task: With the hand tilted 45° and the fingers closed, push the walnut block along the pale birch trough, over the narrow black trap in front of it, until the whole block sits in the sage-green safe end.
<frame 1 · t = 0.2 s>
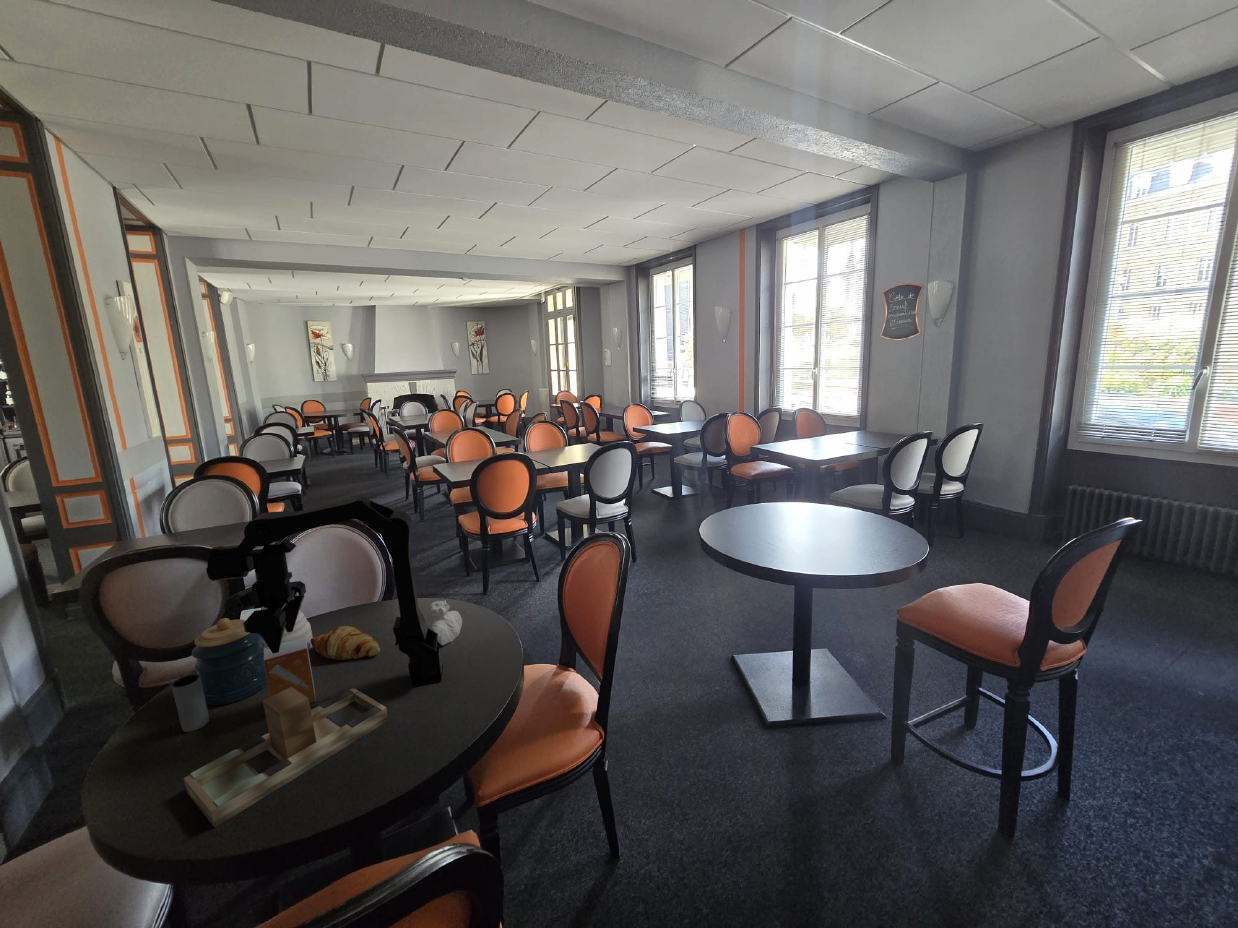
hand: (283, 641, 113), 15 cm above the table, tool pointing down, fingers open, 9 cm apart
white lumpy piece: (446, 638, 141), on the table
honey pot: (285, 650, 138), on the table
planter: (196, 725, 110), on the table
small box: (295, 702, 116), on the table
croissant: (345, 653, 136), on the table
canister: (237, 689, 122), on the table
walnut block: (290, 723, 98), point 6 cm above the table, slide at 0.0 cm
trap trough: (296, 753, 100), on the table
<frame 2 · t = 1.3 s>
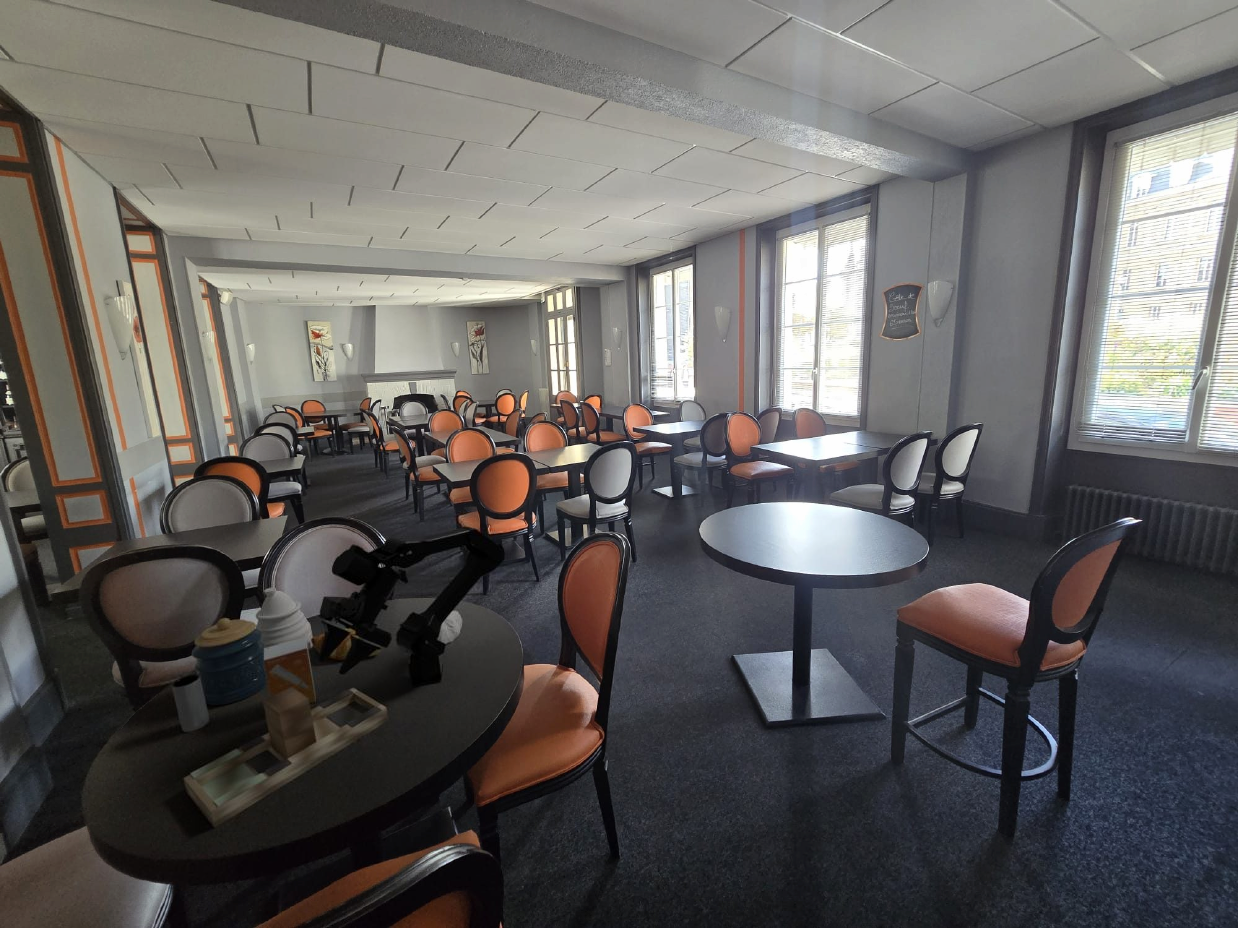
hand: (330, 667, 104), 13 cm above the table, tool tilted 45°, fingers open, 8 cm apart
nothing on the table moved.
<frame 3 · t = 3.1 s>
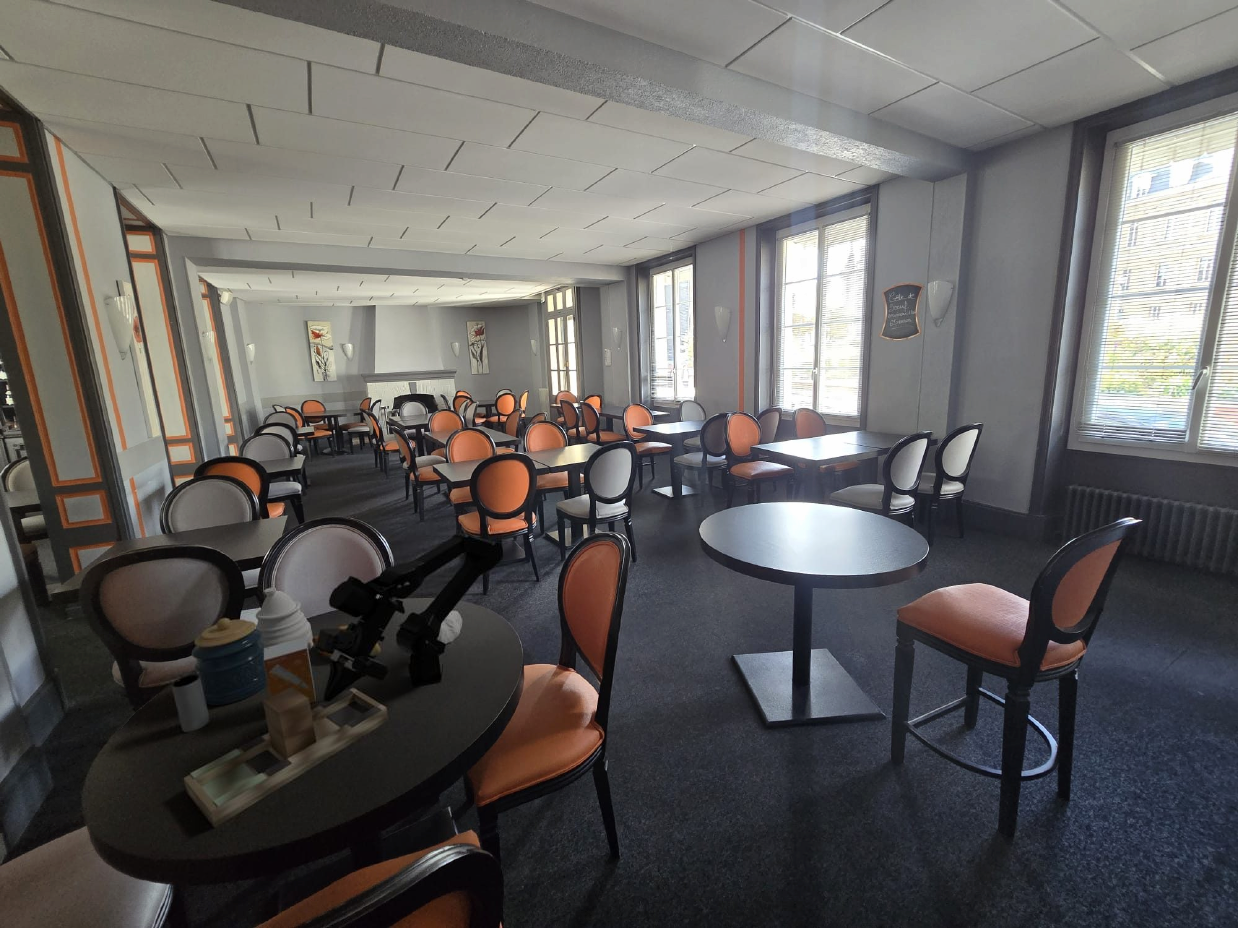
hand: (325, 700, 104), 7 cm above the table, tool tilted 45°, fingers closed
nothing on the table moved.
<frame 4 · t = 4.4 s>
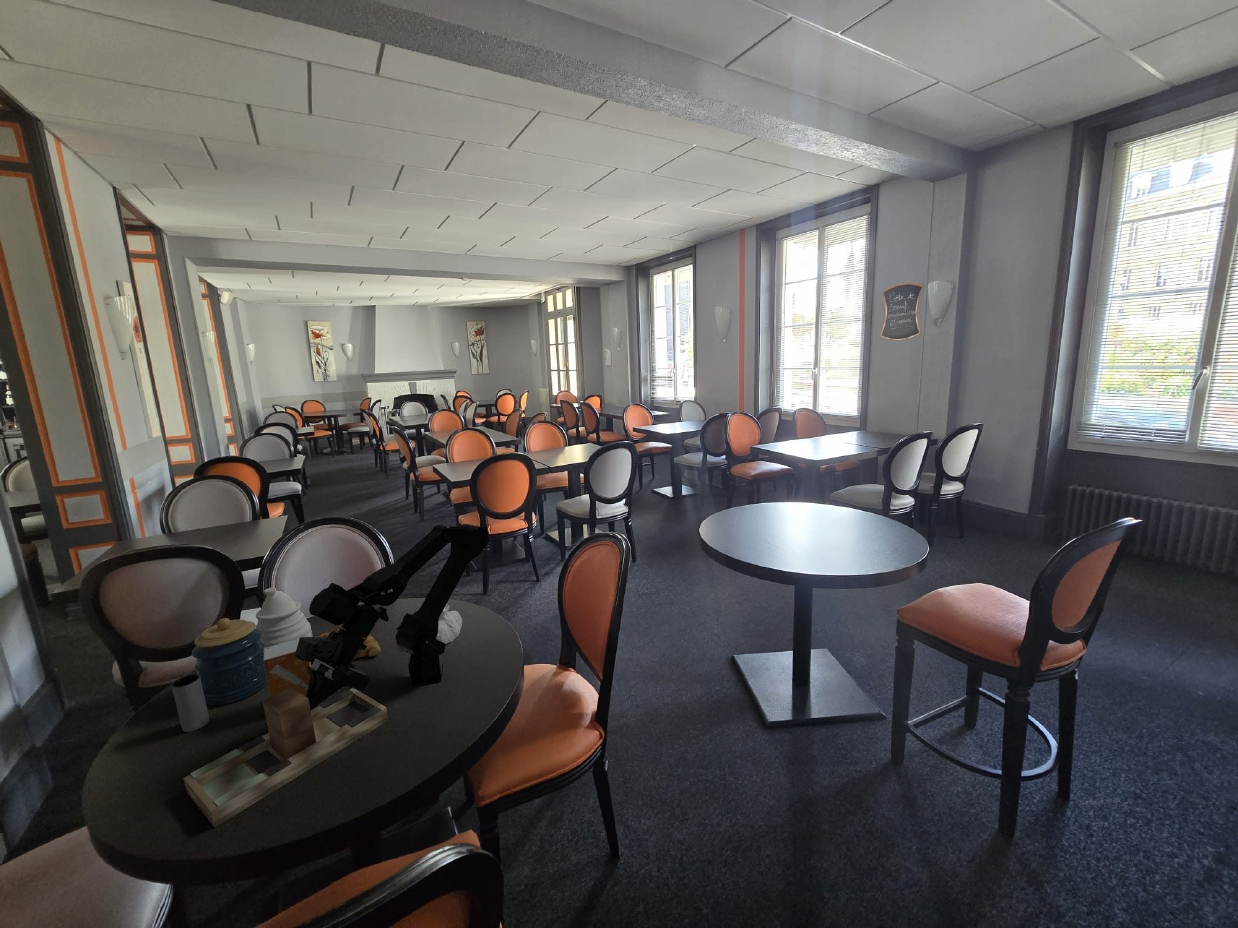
hand: (304, 711, 100), 7 cm above the table, tool tilted 45°, fingers closed, pressing on walnut block
walnut block: (290, 723, 98), point 6 cm above the table, slide at 0.0 cm, touching gripper
everything else where it was.
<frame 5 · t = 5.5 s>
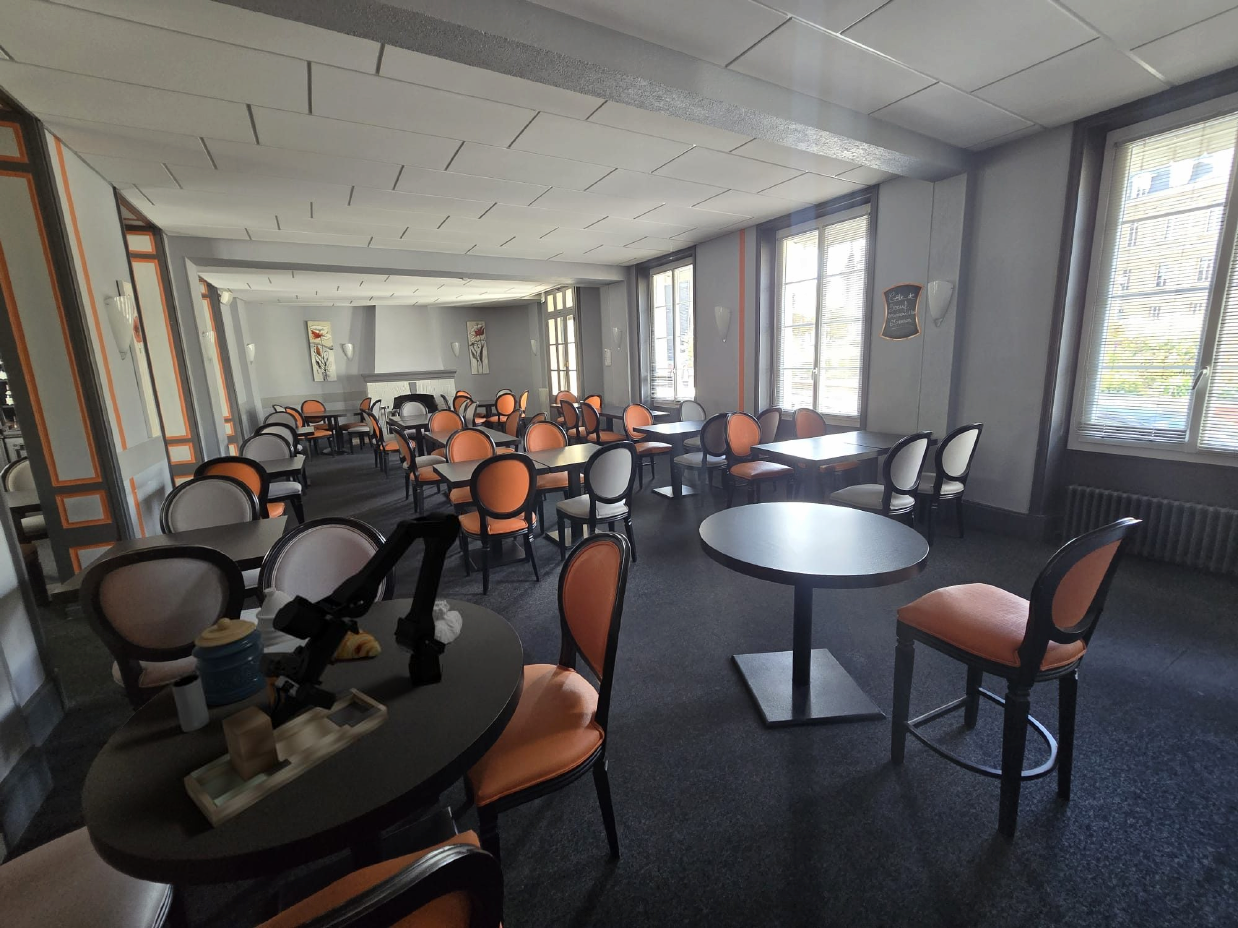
hand: (267, 731, 95), 7 cm above the table, tool tilted 45°, fingers closed, pressing on walnut block
walnut block: (251, 744, 93), point 6 cm above the table, slide at 6.4 cm, touching gripper
everything else where it was.
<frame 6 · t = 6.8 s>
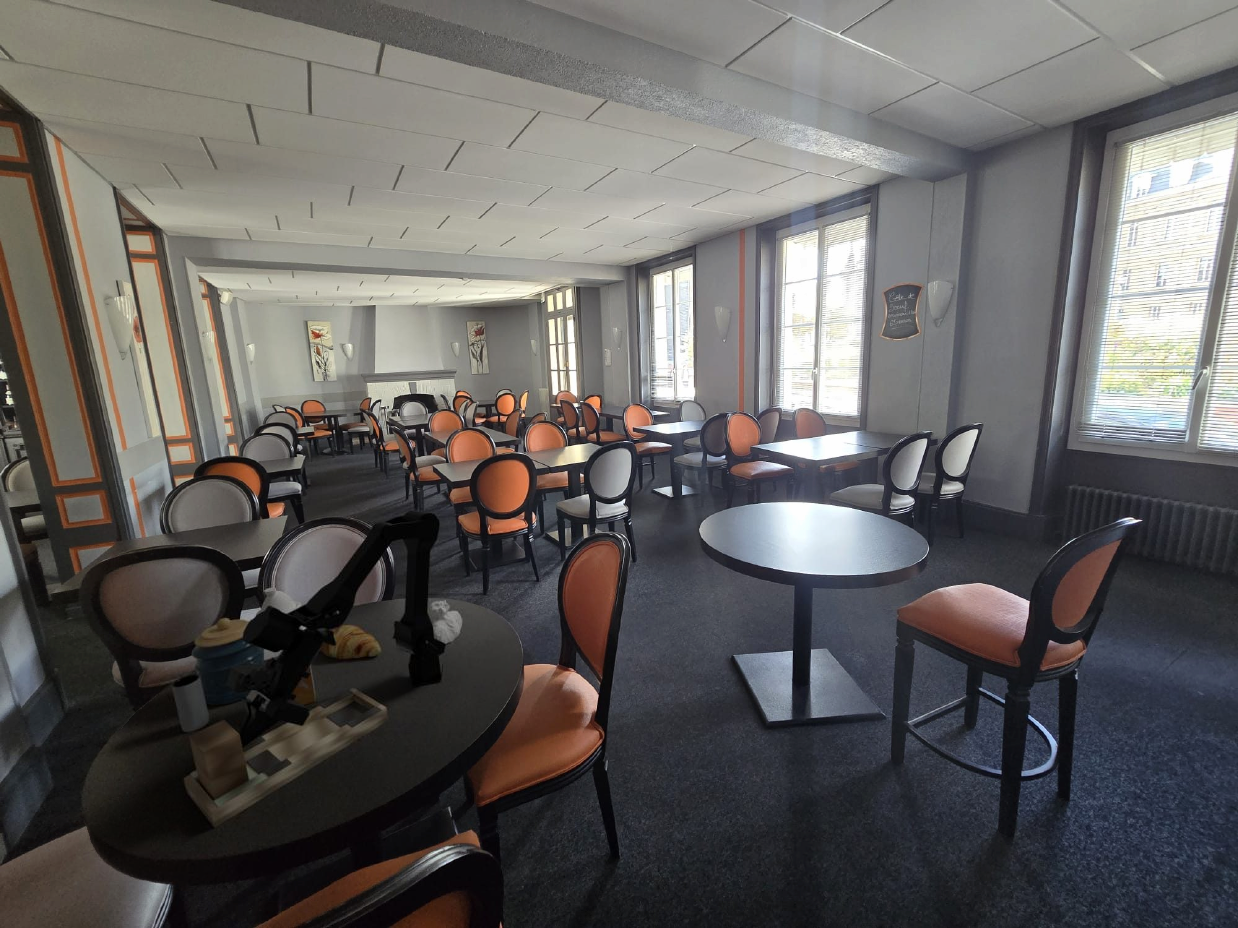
hand: (238, 747, 92), 7 cm above the table, tool tilted 45°, fingers closed, pressing on walnut block
walnut block: (219, 761, 89), point 6 cm above the table, slide at 11.2 cm, touching gripper
everything else where it was.
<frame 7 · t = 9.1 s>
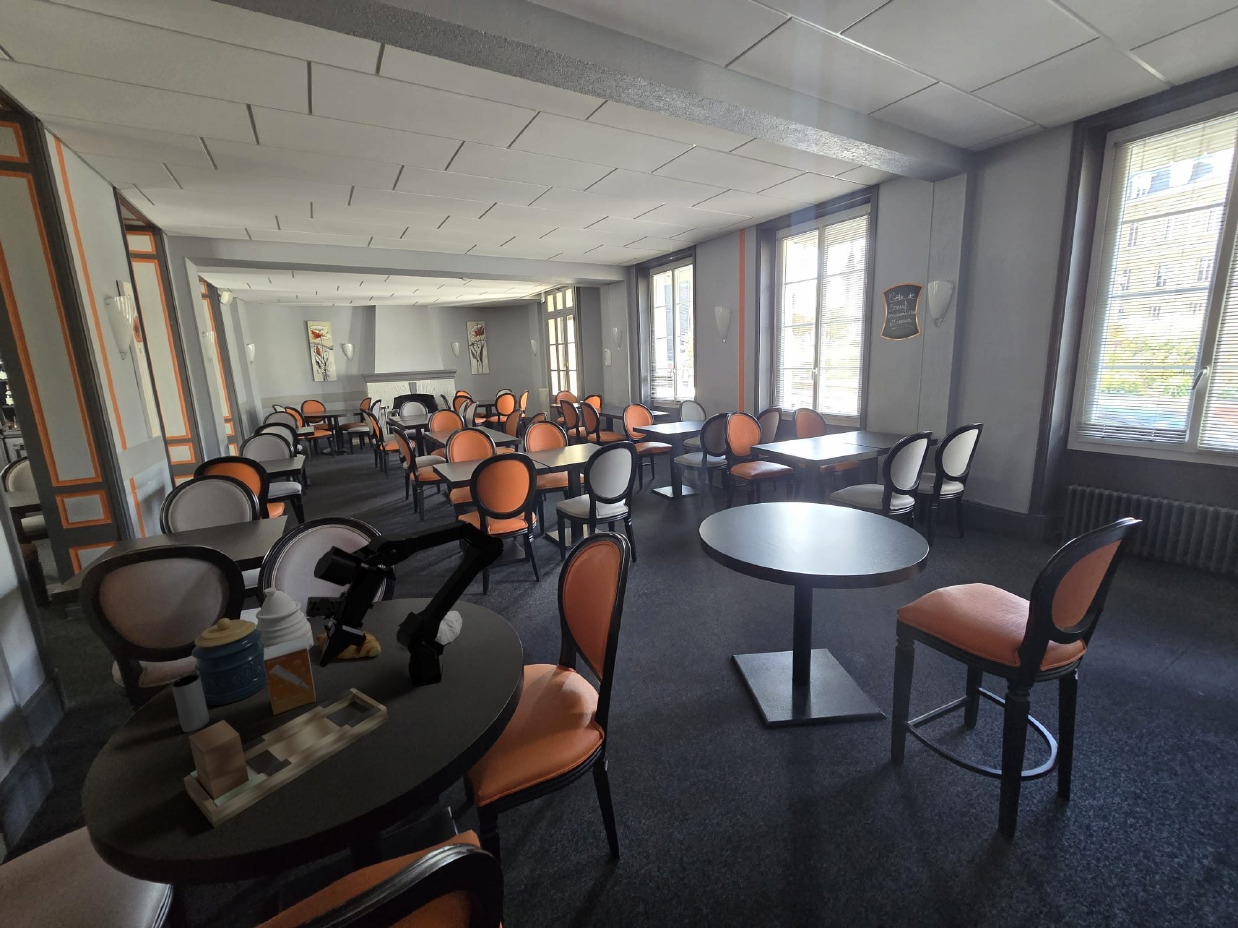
hand: (321, 666, 106), 13 cm above the table, tool tilted 40°, fingers closed
walnut block: (219, 761, 89), point 6 cm above the table, slide at 11.2 cm
everything else where it was.
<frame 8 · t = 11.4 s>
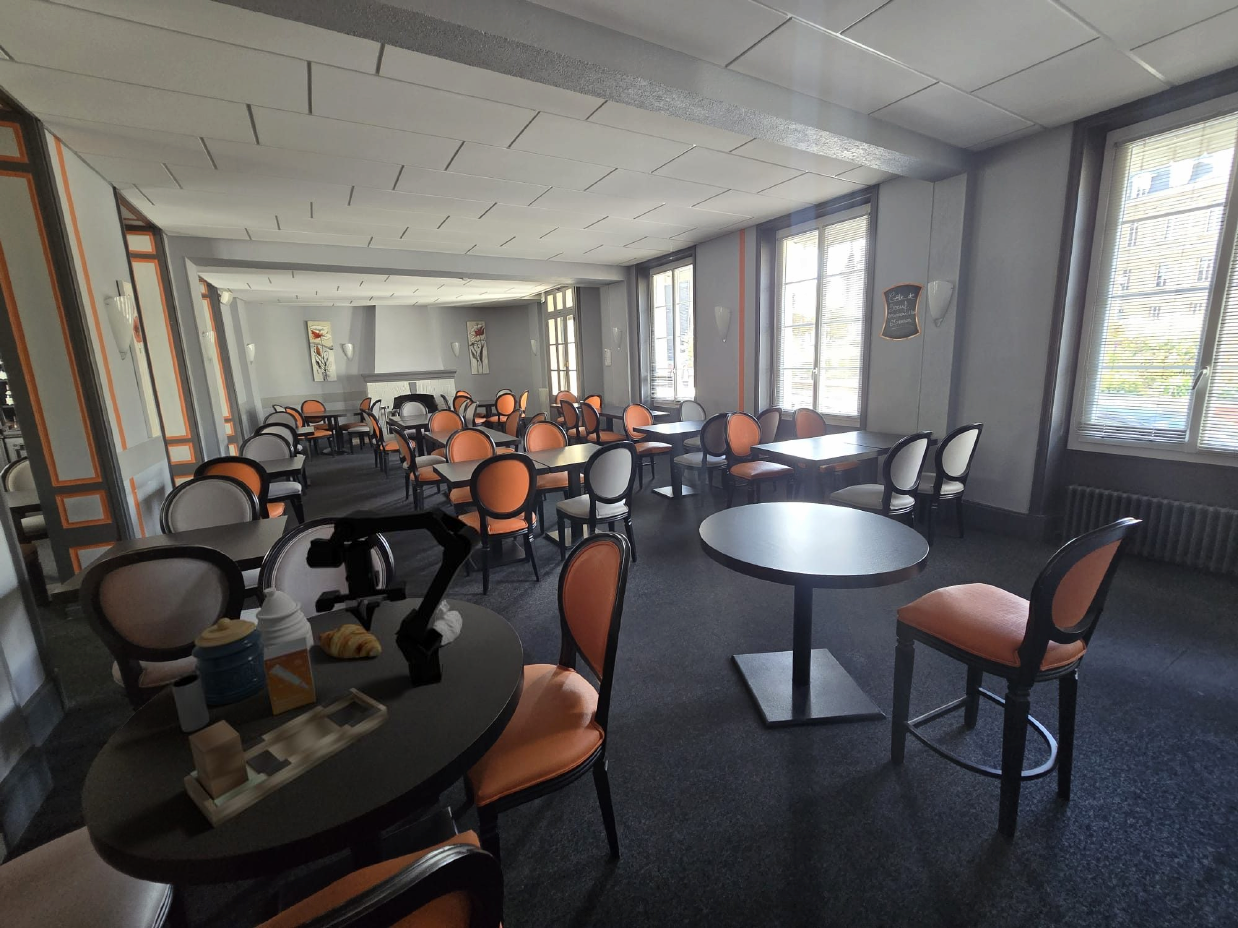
hand: (368, 630, 121), 12 cm above the table, tool pointing down, fingers closed
at the end: walnut block slide at 11.2 cm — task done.
